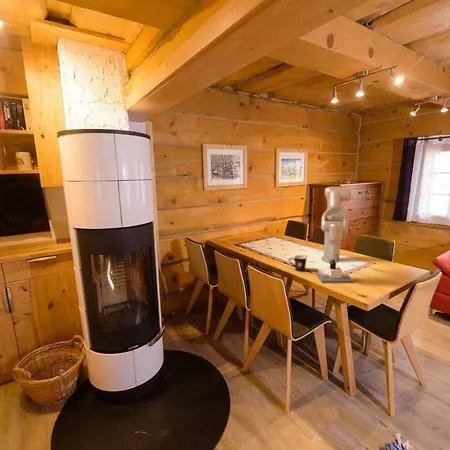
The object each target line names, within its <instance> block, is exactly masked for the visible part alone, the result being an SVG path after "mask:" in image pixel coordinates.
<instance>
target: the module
mask: <svg viewBox="0 0 450 450" xmlns="http://www.w3.org/2000/svg"><path fill="white" fill-rule="evenodd" d="M327 274H329V275H330V278H341V277H342V274H343V270H342V269H341V267H339V266H336V269H330V266H328V267H327Z"/></svg>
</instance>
